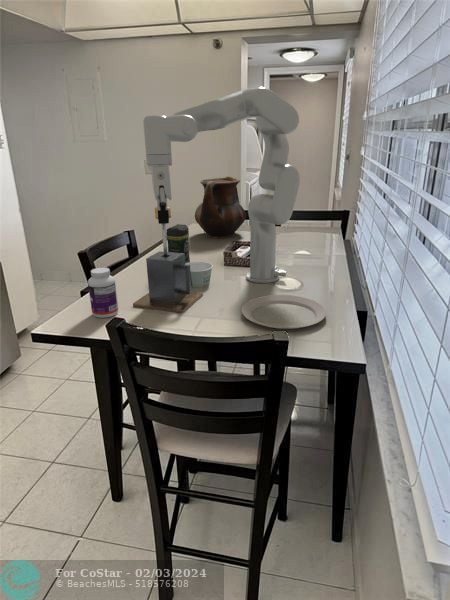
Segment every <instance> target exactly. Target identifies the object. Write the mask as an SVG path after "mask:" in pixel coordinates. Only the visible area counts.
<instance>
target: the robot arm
mask: <svg viewBox="0 0 450 600" xmlns="http://www.w3.org/2000/svg"><path fill="white" fill-rule="evenodd" d="M252 118H255V125H256V127H257V129H258V131H259V133H260V135H261V136H262V139H263V142H264V151H263V157H262V161H261V166H260V170H259V173H258V174H259V175H258V184H259V187H260V188H261V189H264V190H266V191H270V192H273V194H269V193H257V194H255V195H254V196H252V197H251V198H250V200H249V202H248V205H247V214H248V218H249V226H250V240H249V241H250V247H249V249H250V250H249V252H250V253H249V255H250V256H249V257H250V259H249V261H250V263H249V265H250V266H249V267H250V269H249V272H247V273H246V274H245V278H246V280H247V281H250V282H251V283H252V282H253V283H258V284H269V283H274V282H277V281H278V280H280V277H284V278H286V277H287V271H285V270H284V269H279V268H278V265H276V256H277V255H276V253H277V228H276V225H278V226H279V225H280V226H282V225H284V224H286V223H288V222H289V220H290V219H291V217H292V215H293V212H294V208H295V204H296V200H297V196H298V192H299V187H300V183H301V181H300V180H301V177H300V173H299V170H298V168H297V167H296V166H294V165H293V164H288V158H289V153H290V146H289V145H290V144H289V141H288V138H287V136H286V135H290V134H292V133H293V132H295V131H296V130H297V128H298V126H299V123H300V117H299V114H298V111H297V109H296V108H295V107H294V106H293V105H291V103H289V102H288V101H287V100H285V99H284V98H283V97H281V96H280V95H278V94H277V93H276V92H274V91H272V90H271V89H269V88H267V87H264V86H259V87H252V88H245V89H242V90H238V91H237V92H233V93H231V94H227V95H225V96H224V95H223V96H222V97H219V98H216V99H212V100H210V101H208V102H204V103H202V104H198V105H196V106H195V105H194V106H193V107H190V108H186V109H183V110H180V111H177V112H175V113H171V114H169V115H161V114H160V115H158V114H157V115H156V114H153V115H145V116H144V118H143V120H142V121H143V124H142V125H143V135H144V147H145V159H146V160H145V161H146V167H150V170H151V171H150V173H151V183H152V190H153V194H154V199H155V201H157V207H158V219H157V221H158V224H160V225H162V224H167V225H168V224H169V223H170V218H169V214H168V209H167V207H168V200H169V201H171V200H172V187H171V185H172V184H171V175H170V168H169V167H171V166H173V159H172V158H173V157H172V142H179V143H186V142H187V143H188V142H190V141H192V140H194V139H195V138H196V137H197V134H198V133H201V132H206V131H207V132H208V131H215V130H220V129H224V128H227V127H230V126H231V125H234V124H237V123H239V122H243V121H245V120H248V119H252Z"/></svg>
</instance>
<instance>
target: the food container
mask: <svg viewBox="0 0 450 600" xmlns="http://www.w3.org/2000/svg"><path fill="white" fill-rule="evenodd" d="M185 265H190V273H191V288H192V287H194V288H197V287H198V288H199V287H205V286H207V285H209V284H210V283H211V276H212V270H213V267H214V265H213V264H212V263H210V262H206V261H191V262H189V263H186V264H185Z"/></svg>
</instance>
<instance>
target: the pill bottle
mask: <svg viewBox="0 0 450 600" xmlns="http://www.w3.org/2000/svg"><path fill="white" fill-rule="evenodd" d="M110 274H111V270H110V268H108V267H97V268H92V269H91V270H90V276H91V277H90V278H89V279H88V280H87V286H88V293H89V294H88V295H89V300H90V307H91V314H92V316H94V317H95V318H98V319H106V318H112V317H114V316H116V315H117V314H118V312H119V303H118V294H117V287H116V286H117V285H116V278H115V277H114V276H112V275H110Z"/></svg>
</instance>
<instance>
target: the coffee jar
mask: <svg viewBox="0 0 450 600" xmlns="http://www.w3.org/2000/svg"><path fill="white" fill-rule="evenodd" d="M189 233H190V232H189V226H187V225H186V224H181V223H177V224H175V225H173V226H171V227H170V226H169V227H168V228H166V239H167V252H174V253H185V264H186V263H189V262H190V261H191V259H190V257H191V256H190V249H189V248H190V246H189V244H190V243H189V238H190V237H189V235H190V234H189Z"/></svg>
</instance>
